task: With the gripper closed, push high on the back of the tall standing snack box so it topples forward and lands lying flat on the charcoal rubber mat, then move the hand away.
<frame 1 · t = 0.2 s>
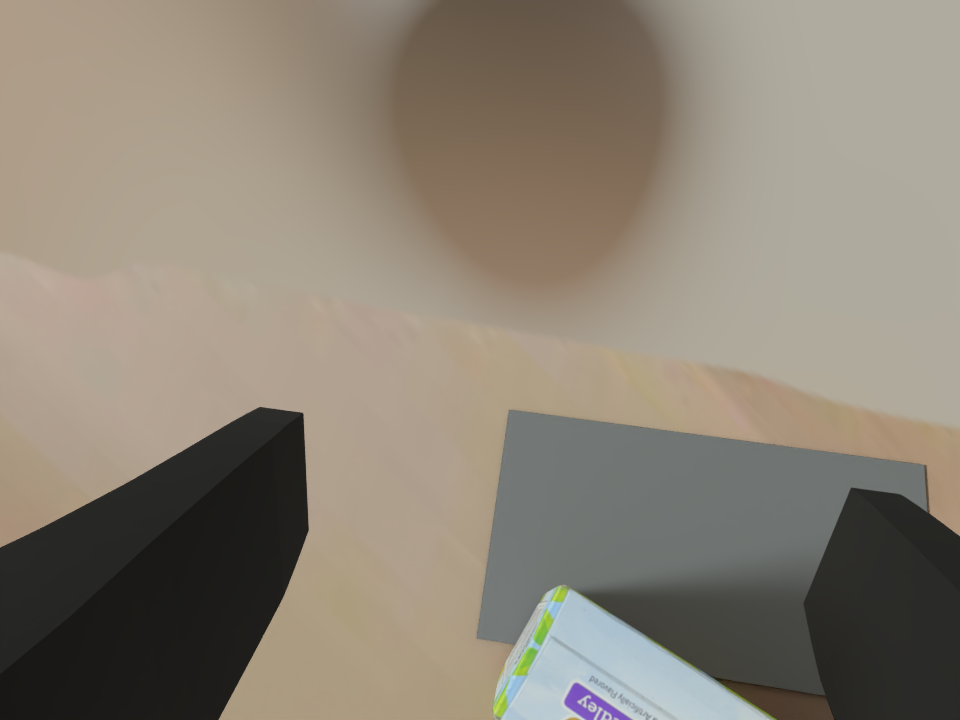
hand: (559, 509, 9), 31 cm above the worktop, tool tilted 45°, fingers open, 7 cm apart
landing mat: (705, 549, 39), on the worktop
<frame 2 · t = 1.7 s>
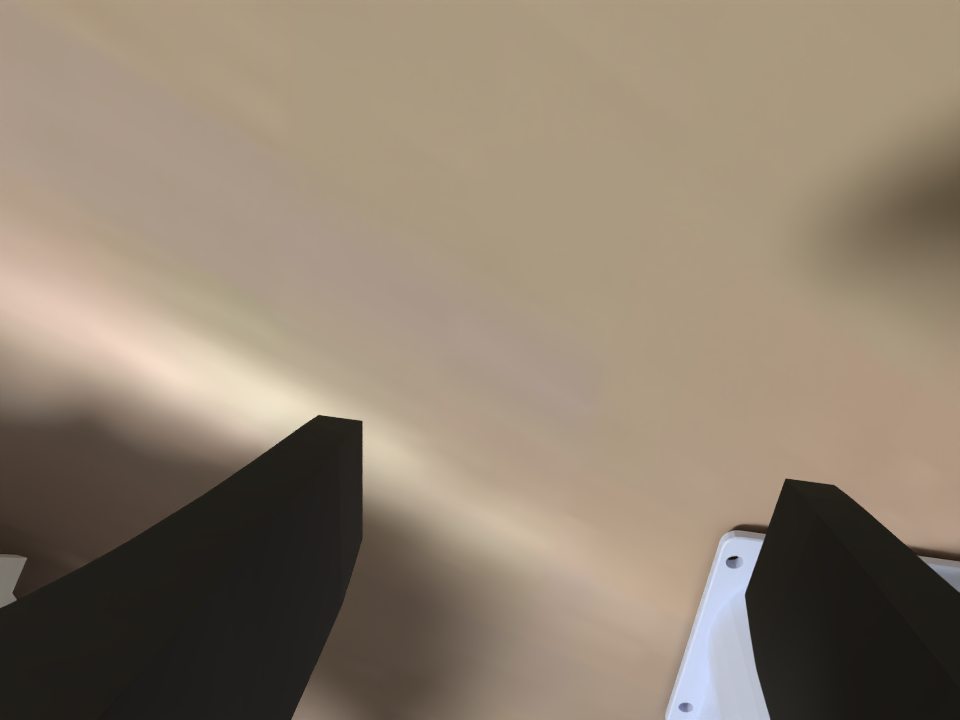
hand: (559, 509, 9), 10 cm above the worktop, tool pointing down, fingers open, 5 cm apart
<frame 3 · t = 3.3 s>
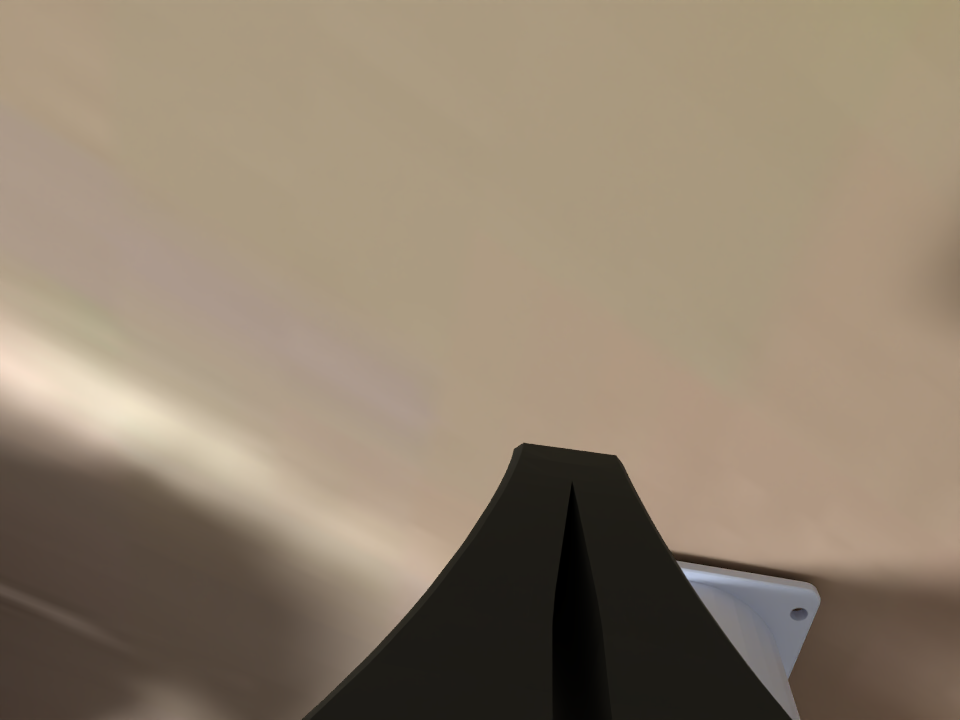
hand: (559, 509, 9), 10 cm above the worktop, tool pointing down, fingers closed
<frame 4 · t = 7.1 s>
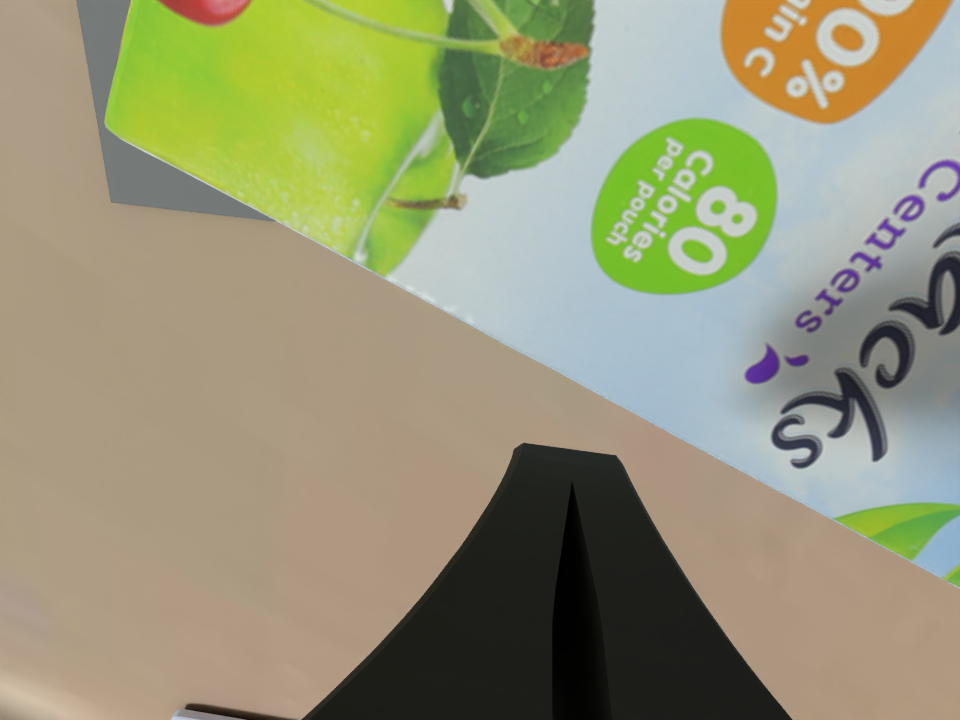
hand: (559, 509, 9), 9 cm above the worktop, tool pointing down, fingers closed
snack box: (602, 359, 15), point 3 cm above the worktop, touching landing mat
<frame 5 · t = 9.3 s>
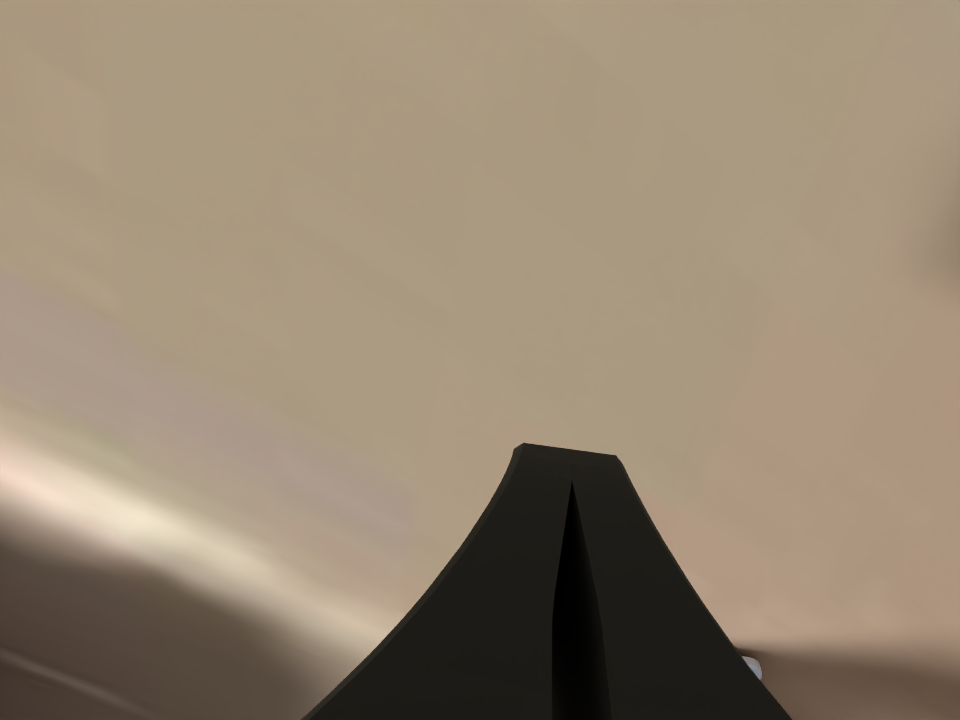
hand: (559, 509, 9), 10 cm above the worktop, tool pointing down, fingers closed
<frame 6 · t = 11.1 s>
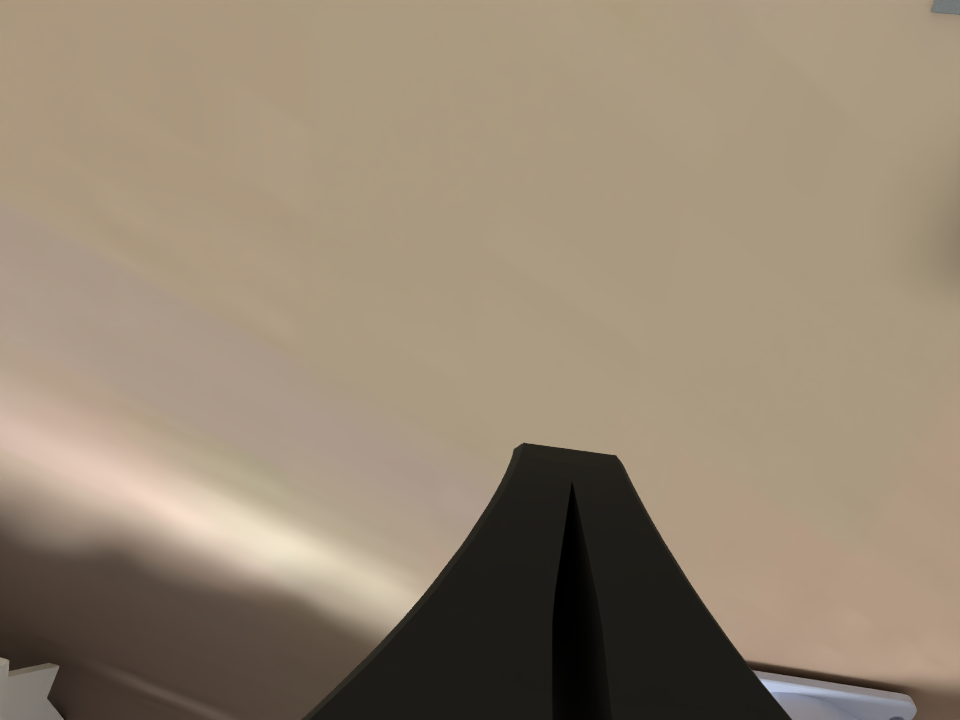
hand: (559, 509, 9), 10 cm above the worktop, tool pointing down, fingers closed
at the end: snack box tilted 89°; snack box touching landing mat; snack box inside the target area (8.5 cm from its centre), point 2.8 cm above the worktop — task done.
